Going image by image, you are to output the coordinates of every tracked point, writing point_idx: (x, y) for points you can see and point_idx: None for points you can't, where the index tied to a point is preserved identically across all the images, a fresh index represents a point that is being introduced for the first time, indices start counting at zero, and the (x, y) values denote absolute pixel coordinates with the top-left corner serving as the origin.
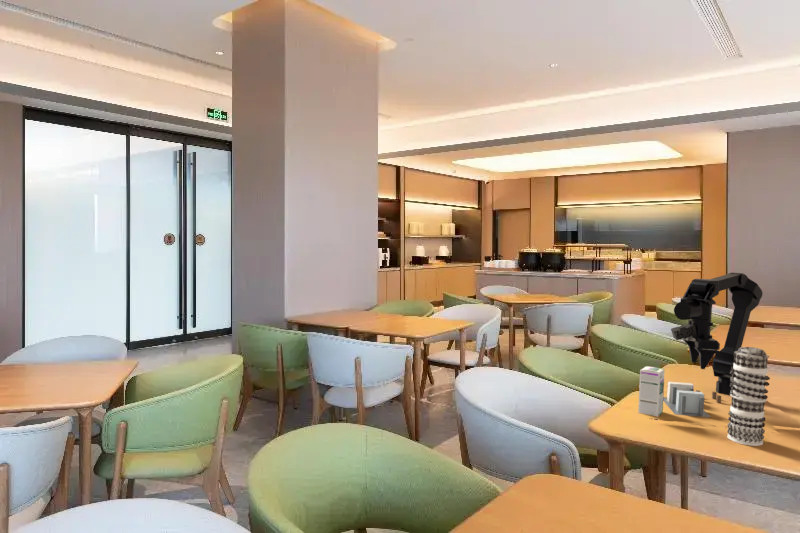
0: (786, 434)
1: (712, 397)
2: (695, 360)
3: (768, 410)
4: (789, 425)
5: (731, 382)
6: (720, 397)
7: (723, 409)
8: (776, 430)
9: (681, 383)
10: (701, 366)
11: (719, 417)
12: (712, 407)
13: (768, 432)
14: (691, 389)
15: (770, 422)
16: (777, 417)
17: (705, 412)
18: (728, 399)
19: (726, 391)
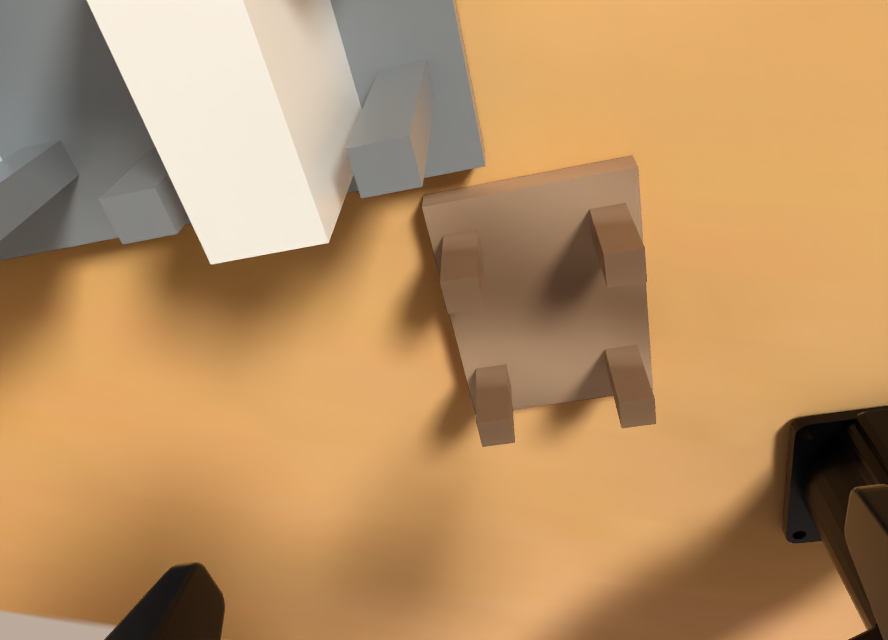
0: (51, 599)
1: (626, 360)
2: (866, 580)
3: (545, 609)
4: (257, 636)
5: (867, 602)
6: (481, 432)
7: (405, 385)
8: (91, 576)
9: (202, 82)
10: (128, 617)
11: (119, 332)
12: (420, 315)
13: (5, 539)
14: (116, 209)
15: (250, 577)
16: (398, 619)
17: (30, 247)
18: (767, 453)
19: (839, 491)
